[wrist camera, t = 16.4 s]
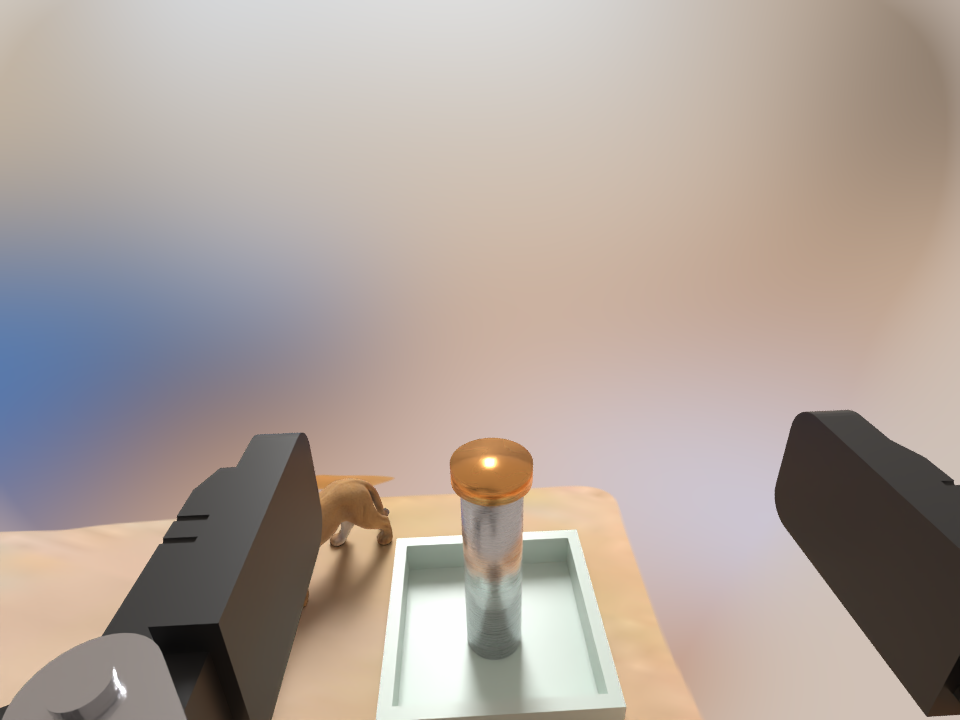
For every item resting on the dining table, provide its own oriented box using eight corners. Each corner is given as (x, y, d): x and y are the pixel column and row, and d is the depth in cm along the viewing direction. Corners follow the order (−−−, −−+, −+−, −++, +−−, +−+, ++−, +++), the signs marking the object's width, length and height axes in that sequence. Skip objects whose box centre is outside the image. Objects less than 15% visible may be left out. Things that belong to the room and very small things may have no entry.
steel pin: (460, 669, 36) (450, 490, 29) (459, 608, 40) (449, 439, 33) (533, 665, 36) (538, 485, 29) (524, 604, 40) (527, 436, 34)
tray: (381, 754, 32) (375, 722, 30) (400, 567, 44) (396, 538, 43) (621, 739, 32) (626, 706, 31) (574, 558, 44) (576, 529, 43)
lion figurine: (268, 660, 37) (239, 559, 33) (219, 623, 40) (187, 525, 36) (410, 526, 48) (402, 437, 44) (364, 504, 51) (352, 418, 47)
